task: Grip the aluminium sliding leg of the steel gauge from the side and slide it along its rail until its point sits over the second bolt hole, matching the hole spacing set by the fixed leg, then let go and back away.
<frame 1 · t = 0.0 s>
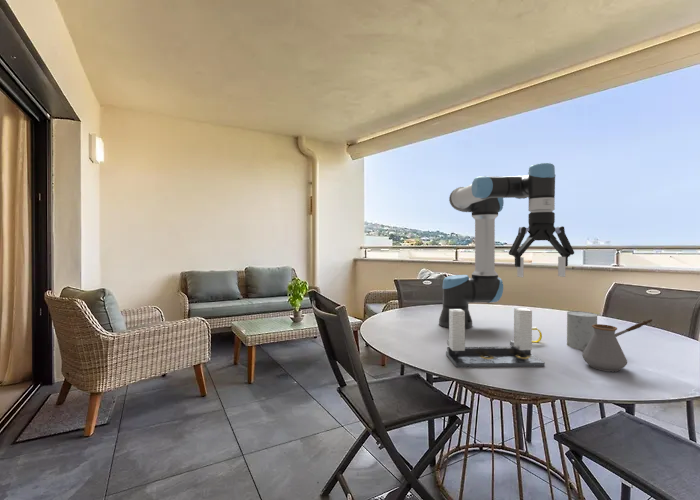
hand: (541, 276, 115), 28 cm above the table, tool pointing down, fingers open, 13 cm apart
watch: (533, 342, 137), on the table
fixed leg: (522, 360, 117), resting on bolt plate
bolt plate: (492, 360, 117), on the table
sliding leg: (455, 331, 118), point 9 cm above the table, slide at 0.0 cm
grey concrete cylinder: (581, 346, 131), on the table
coffee pot: (619, 367, 110), on the table
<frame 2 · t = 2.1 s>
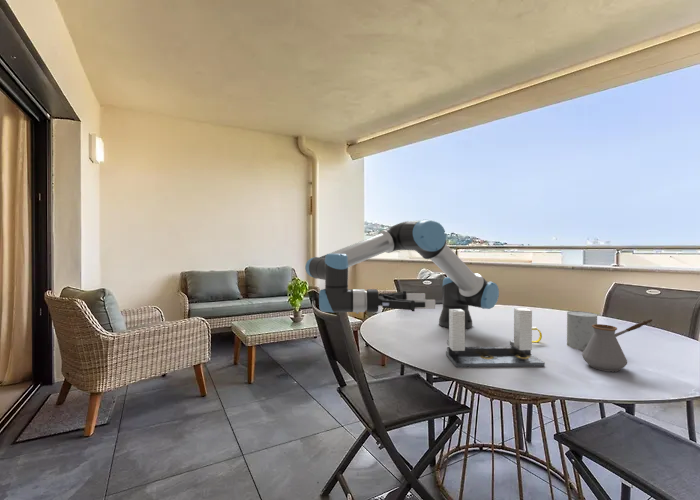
hand: (429, 300, 116), 20 cm above the table, tool horizontal, fingers open, 13 cm apart
nothing on the table moved.
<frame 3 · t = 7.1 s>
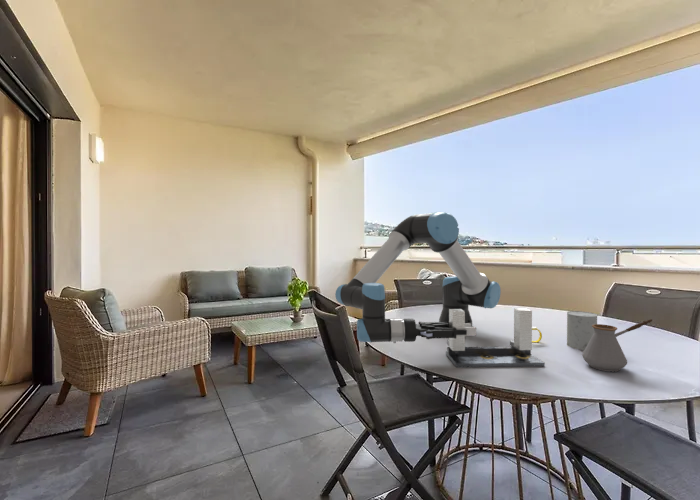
hand: (472, 329, 116), 10 cm above the table, tool horizontal, fingers closed on sliding leg, 4 cm apart
sliding leg: (455, 331, 118), point 9 cm above the table, slide at 0.0 cm, touching gripper
everything else where it was.
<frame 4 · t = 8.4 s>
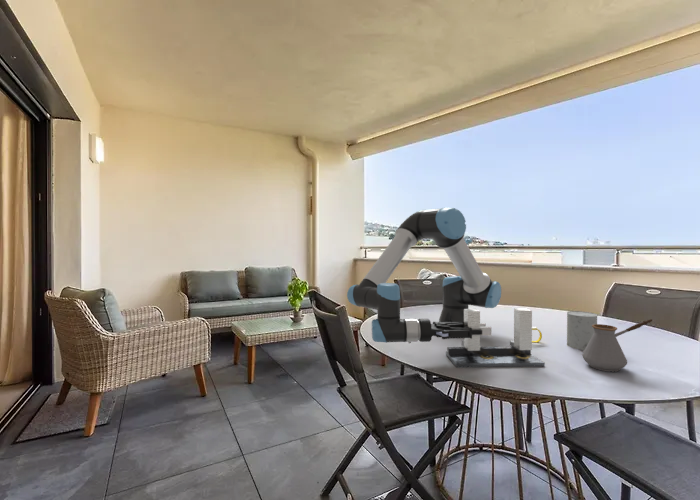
hand: (487, 329, 116), 11 cm above the table, tool horizontal, fingers closed on sliding leg, 4 cm apart
sliding leg: (469, 331, 118), point 9 cm above the table, slide at 5.0 cm, touching gripper
everything else where it was.
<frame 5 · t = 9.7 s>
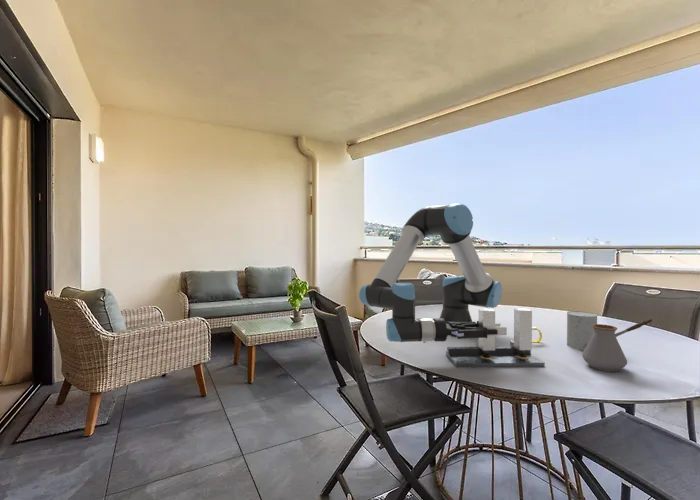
hand: (502, 329, 116), 10 cm above the table, tool horizontal, fingers closed on sliding leg, 4 cm apart
sliding leg: (484, 330, 118), point 9 cm above the table, slide at 10.0 cm, touching gripper
everything else where it was.
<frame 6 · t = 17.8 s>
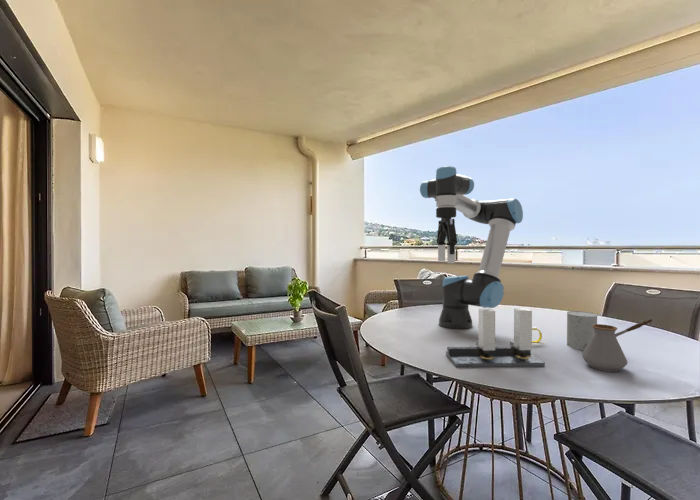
hand: (446, 262, 136), 32 cm above the table, tool pointing down, fingers open, 13 cm apart
sliding leg: (484, 330, 118), point 9 cm above the table, slide at 10.0 cm
everything else where it was.
at the end: sliding leg slide at 10.0 cm; the gripper is holding nothing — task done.
